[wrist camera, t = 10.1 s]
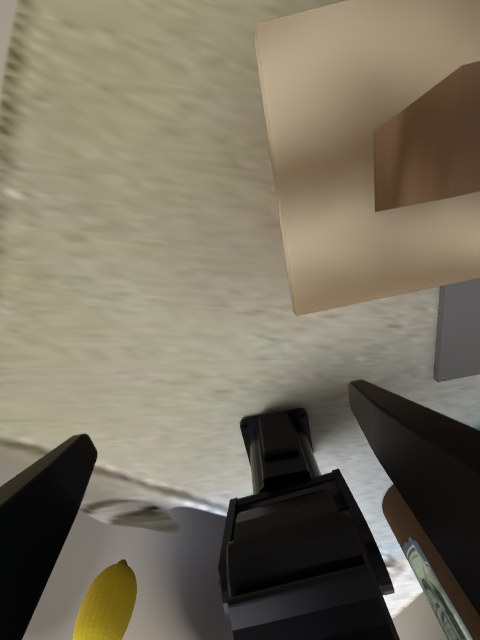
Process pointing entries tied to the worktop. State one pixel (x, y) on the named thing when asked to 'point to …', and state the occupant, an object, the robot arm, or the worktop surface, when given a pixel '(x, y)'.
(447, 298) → the mat
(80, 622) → the lemon
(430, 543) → the olive oil
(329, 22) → the lid
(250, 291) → the worktop surface
